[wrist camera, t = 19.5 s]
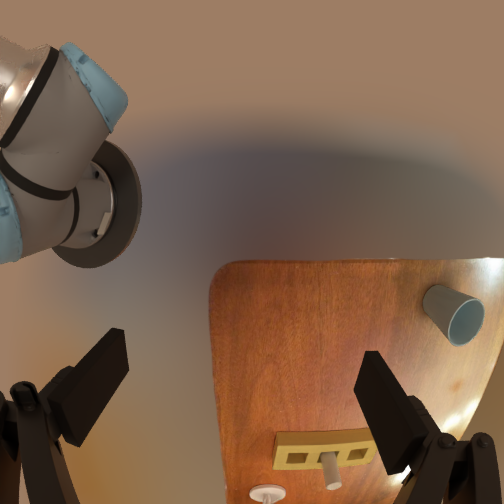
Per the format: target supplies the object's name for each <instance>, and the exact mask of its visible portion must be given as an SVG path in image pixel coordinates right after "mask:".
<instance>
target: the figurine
mask: <svg viewBox="0 0 504 504" xmlns="http://www.w3.org/2000/svg"><path fill="white" fill-rule="evenodd" d="M285 495H286V491H285V489H284V488H283V487H281V486H279V485H273V484H264V485H258V486H255V487H253V488H252V489H251V490H250V497H251V498H252V499H253V500H256V501H260V502H263V504H273V503H275V502H277V501H278V500H281V499H282V498H284V497H285ZM265 502H266V503H265ZM271 502H272V503H271Z"/></svg>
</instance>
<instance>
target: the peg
mask: <svg viewBox="0 0 504 504" xmlns="http://www.w3.org/2000/svg"><path fill="white" fill-rule="evenodd" d="M320 457H321V462H322V468H323V473H324V479H325V484H326V489H328V490H334V489H337V488H339V487H341V486H342V482H341V477H340V473H339V469H338V464H337V460H336V456H335V452H334V451H332V452H321V453H320Z"/></svg>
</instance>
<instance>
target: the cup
mask: <svg viewBox="0 0 504 504" xmlns="http://www.w3.org/2000/svg"><path fill="white" fill-rule="evenodd" d="M423 308H424V311H425V312H426V313H427V314H428V316H429V317H430V318H431V319H432V320H433V322H434V323H435V324H436V325H437V326H438V328H439V329H440V330H441V331H442V333H443V334H444V335H445V336H446V338H447V339H448V340H449V341H450V343H451V344H452V345H454V346H463V345H466V344H467V343H469V342H470V341H471V340H472V339H474V337H475V336H476V335H477V334H478V332H479V331H480V329H481V327H482V324H483V321H484V317H485V308H484V305H483V303H482V302H481V301H480V300H479V299H477V298H474V297H471V296H469V295H466V294H463V293H461V292H458V291H456V290H453V289H450V288H448V287H445V286H442V285H435V286H432V287H431V288H430V289H429V290H428V291H427V292H426V294H425V296H424V299H423Z"/></svg>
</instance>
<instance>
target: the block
mask: <svg viewBox="0 0 504 504" xmlns="http://www.w3.org/2000/svg"><path fill="white" fill-rule="evenodd" d="M332 451H334V452H335V456H336V460H337V464H338V467H346V466H355V465H363V464H370V462H371V460H372V459H373V457H374V455H375V453H376V451H377V446H376V444H375V441H374V439H373V436H372V434H371V431H370V429H369V428H363V429H353V430H340V431H320V432H277V434H276V440H275V444H274V449H273V454H272V470H303V469H323V468H322V462H321V457H320V453H321V452H332Z"/></svg>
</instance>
